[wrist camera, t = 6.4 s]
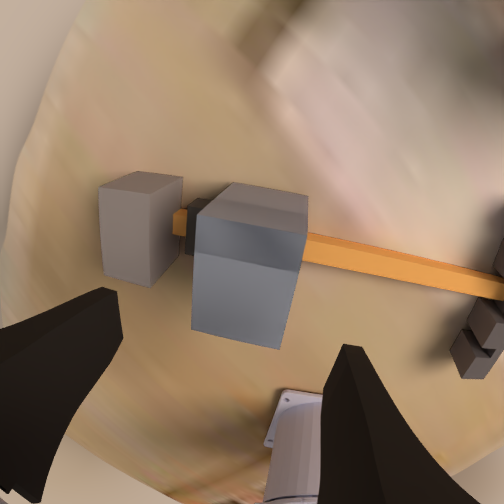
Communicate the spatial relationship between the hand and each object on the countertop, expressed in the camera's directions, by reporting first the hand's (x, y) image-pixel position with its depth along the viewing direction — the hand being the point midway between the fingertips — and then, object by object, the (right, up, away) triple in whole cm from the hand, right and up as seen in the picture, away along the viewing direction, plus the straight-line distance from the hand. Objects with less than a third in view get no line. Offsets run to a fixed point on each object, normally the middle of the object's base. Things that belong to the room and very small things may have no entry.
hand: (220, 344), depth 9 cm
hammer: (+6, +3, +8) cm, 10 cm away
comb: (+18, +1, +7) cm, 19 cm away
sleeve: (+2, +4, +8) cm, 9 cm away
